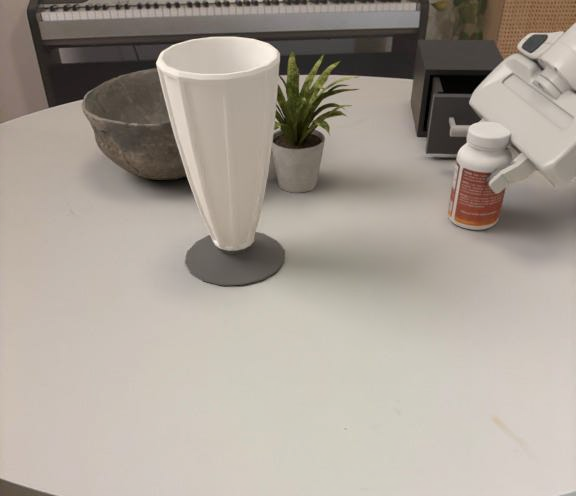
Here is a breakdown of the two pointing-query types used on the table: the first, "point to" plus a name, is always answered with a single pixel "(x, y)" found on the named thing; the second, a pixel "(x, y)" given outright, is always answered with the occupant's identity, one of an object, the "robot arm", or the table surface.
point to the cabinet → (448, 68)
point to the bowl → (135, 125)
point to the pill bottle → (479, 176)
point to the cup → (225, 149)
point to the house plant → (302, 127)
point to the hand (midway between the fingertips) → (476, 172)
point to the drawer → (449, 112)
